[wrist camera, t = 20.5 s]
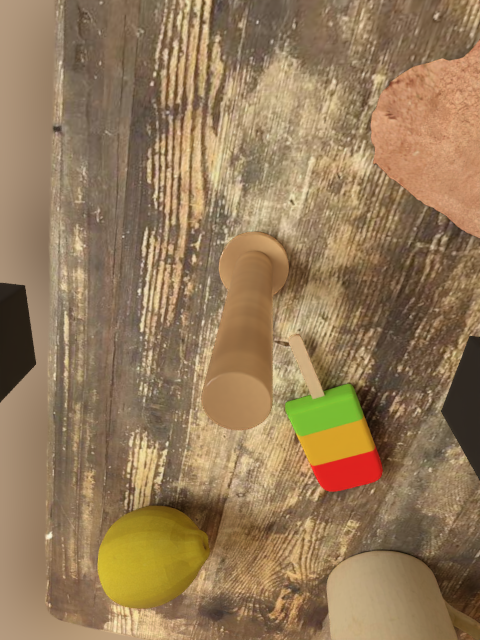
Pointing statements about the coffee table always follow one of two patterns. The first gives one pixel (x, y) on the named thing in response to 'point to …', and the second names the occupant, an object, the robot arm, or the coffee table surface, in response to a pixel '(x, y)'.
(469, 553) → the coffee table surface
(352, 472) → the popsicle
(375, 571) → the sugar bowl
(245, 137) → the coffee table surface
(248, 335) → the stick
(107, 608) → the coffee table surface
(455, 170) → the clay slab
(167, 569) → the lemon
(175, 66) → the coffee table surface
